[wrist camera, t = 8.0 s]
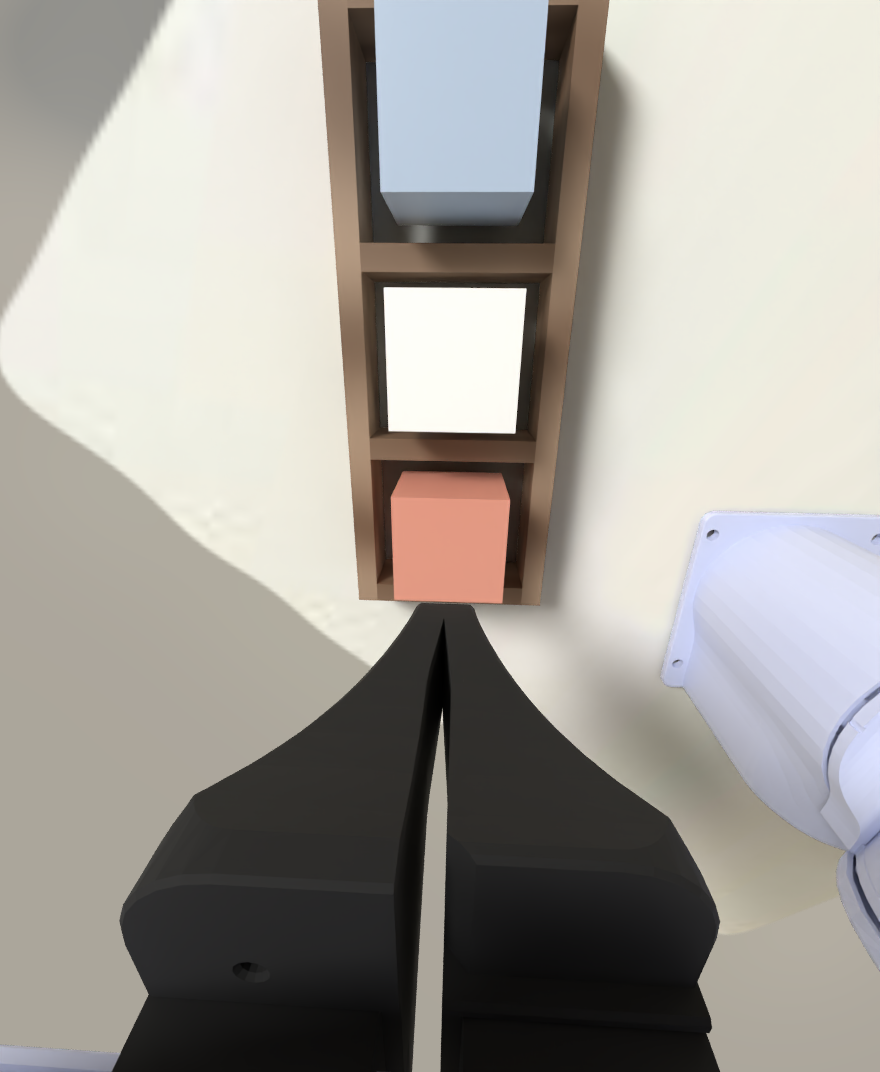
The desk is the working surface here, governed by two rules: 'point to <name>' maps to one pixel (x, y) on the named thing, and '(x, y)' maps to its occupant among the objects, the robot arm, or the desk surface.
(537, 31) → the key blue
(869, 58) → the desk surface
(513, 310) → the key white
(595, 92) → the frame
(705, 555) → the robot arm
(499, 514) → the key terracotta
